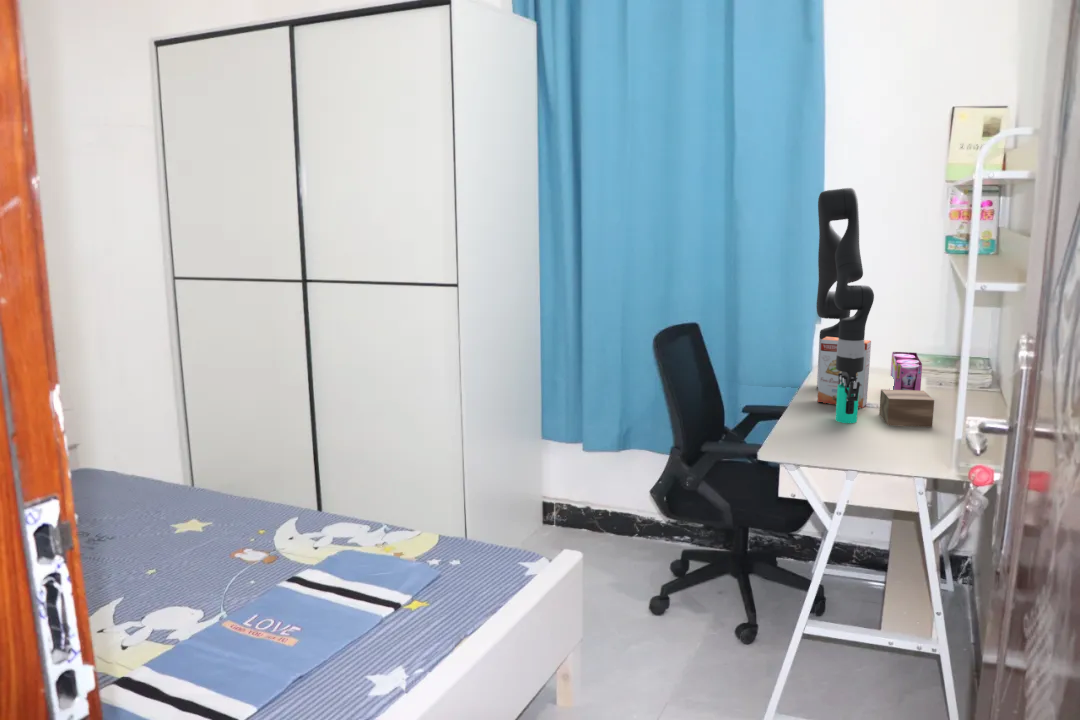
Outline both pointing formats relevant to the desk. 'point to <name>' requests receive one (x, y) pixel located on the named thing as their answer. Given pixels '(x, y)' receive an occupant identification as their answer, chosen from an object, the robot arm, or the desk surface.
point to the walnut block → (906, 408)
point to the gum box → (906, 371)
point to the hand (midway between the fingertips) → (846, 411)
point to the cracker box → (830, 373)
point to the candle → (844, 407)
